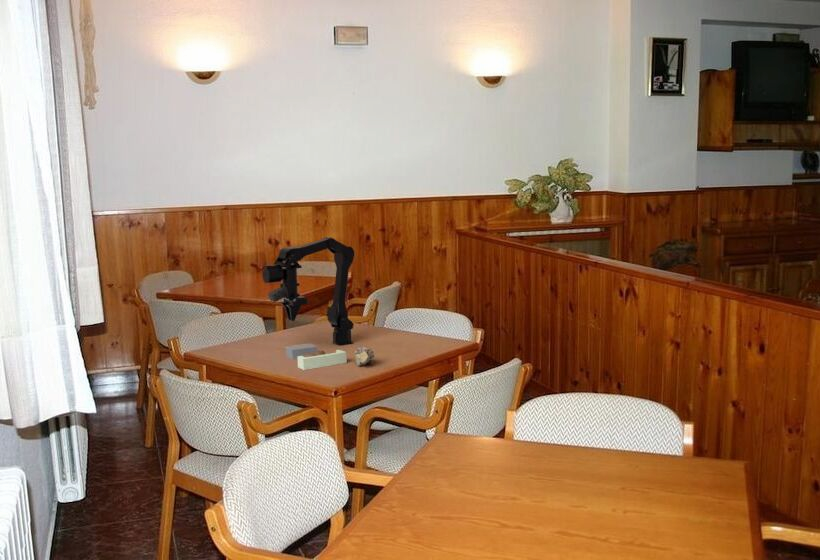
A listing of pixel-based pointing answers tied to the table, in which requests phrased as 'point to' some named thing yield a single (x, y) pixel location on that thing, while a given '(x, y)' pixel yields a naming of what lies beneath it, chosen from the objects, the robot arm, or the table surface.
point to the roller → (314, 354)
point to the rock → (363, 355)
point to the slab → (299, 350)
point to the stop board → (322, 360)
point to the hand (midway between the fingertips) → (291, 320)
